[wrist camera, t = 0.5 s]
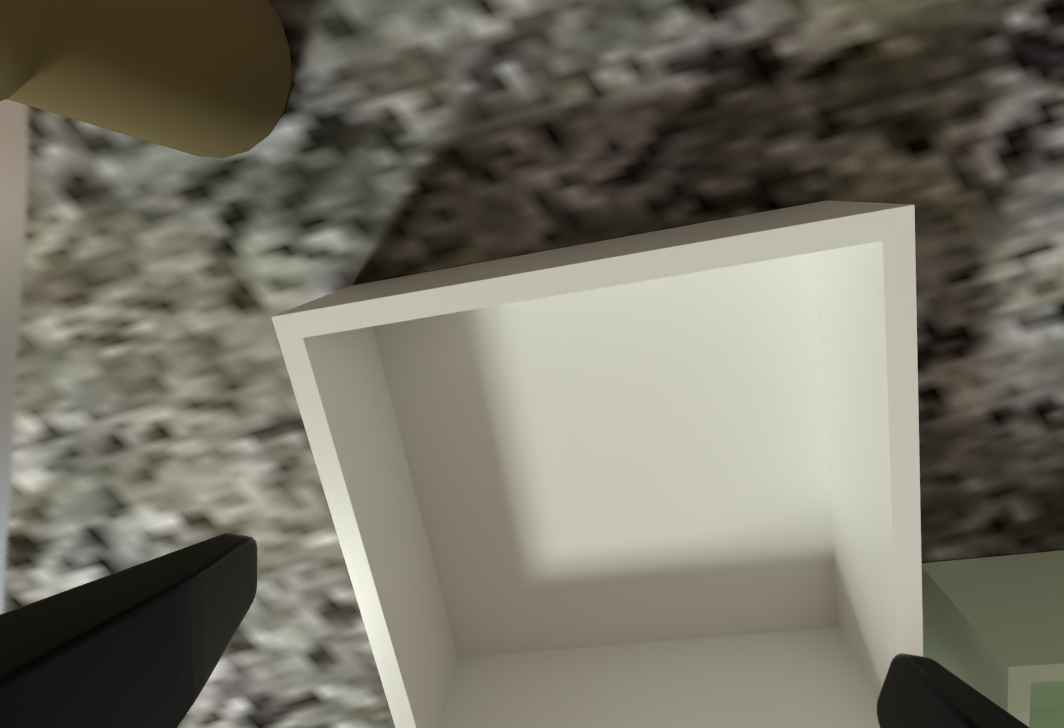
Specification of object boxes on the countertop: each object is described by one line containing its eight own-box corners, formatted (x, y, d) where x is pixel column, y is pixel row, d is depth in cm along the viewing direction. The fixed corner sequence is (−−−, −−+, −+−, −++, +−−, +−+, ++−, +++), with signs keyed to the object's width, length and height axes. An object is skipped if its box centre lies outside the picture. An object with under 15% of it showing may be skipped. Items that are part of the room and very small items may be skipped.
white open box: (850, 626, 23) (925, 755, 18) (449, 658, 25) (411, 780, 20) (826, 200, 19) (914, 204, 14) (351, 285, 21) (271, 316, 16)
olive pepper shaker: (234, -82, 18) (-246, -442, 8) (324, 112, 20) (15, 26, 9) (82, 8, 20) (-510, -200, 9) (176, 186, 21) (-246, 182, 10)
